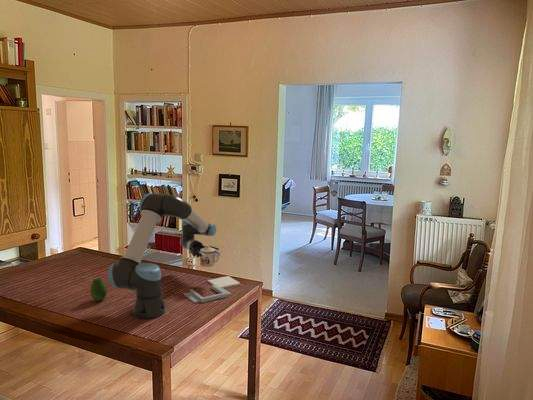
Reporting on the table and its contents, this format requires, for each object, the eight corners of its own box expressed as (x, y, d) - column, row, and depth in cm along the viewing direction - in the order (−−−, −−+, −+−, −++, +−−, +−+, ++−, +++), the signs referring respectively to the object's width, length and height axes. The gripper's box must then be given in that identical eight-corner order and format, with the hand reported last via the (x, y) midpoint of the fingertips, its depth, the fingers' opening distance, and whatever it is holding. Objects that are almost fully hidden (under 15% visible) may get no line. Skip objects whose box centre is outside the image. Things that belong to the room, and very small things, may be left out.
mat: (219, 289, 227) (219, 287, 227) (207, 281, 239) (207, 280, 238) (240, 284, 235) (240, 282, 235) (228, 277, 247) (228, 276, 246)
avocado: (91, 298, 211) (90, 276, 209) (107, 296, 214) (106, 275, 212) (90, 304, 204) (89, 281, 202) (107, 302, 206) (106, 279, 204)
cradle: (195, 304, 206) (195, 300, 206) (183, 294, 218) (183, 291, 218) (232, 295, 219) (232, 291, 218) (219, 286, 231) (219, 283, 231)
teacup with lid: (196, 265, 233) (196, 246, 231) (205, 261, 241) (205, 242, 239) (213, 269, 228) (213, 249, 226) (222, 264, 236) (222, 245, 234)
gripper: (210, 249, 254) (228, 258, 236) (178, 255, 242) (195, 264, 224) (210, 238, 253) (229, 246, 235) (178, 242, 241) (195, 251, 222)
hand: (212, 255), depth 229 cm, fingers closed on teacup with lid, 9 cm apart
